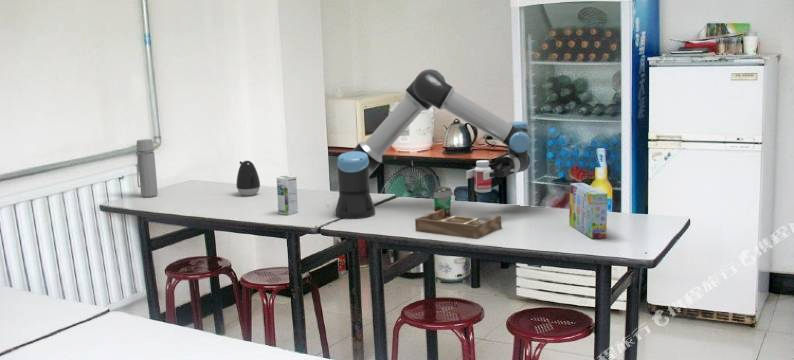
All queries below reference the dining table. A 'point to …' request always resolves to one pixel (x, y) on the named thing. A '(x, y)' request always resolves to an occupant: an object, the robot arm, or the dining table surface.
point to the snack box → (588, 210)
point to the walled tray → (456, 225)
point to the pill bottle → (481, 177)
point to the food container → (443, 200)
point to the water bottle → (146, 168)
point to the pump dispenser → (247, 179)
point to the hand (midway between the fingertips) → (475, 175)
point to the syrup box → (287, 195)
